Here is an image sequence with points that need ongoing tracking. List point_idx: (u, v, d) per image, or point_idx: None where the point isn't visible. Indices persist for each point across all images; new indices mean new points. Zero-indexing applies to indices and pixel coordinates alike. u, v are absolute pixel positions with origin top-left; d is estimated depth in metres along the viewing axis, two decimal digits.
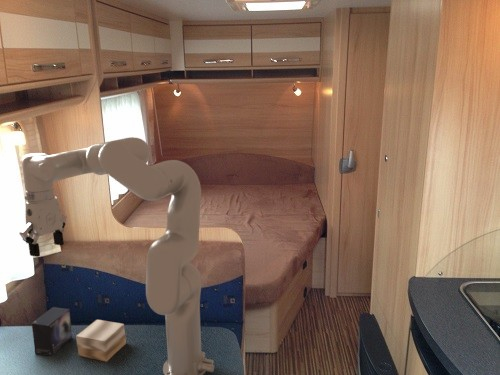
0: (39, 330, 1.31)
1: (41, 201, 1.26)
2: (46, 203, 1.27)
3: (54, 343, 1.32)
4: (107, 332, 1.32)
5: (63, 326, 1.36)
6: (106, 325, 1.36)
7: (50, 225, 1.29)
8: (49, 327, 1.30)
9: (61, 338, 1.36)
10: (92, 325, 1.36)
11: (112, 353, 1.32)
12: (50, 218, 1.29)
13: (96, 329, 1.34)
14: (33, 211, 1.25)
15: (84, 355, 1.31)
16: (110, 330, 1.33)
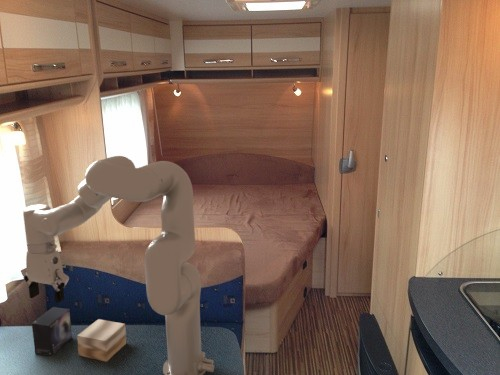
0: (39, 330, 1.31)
1: None
2: None
3: (54, 343, 1.32)
4: (108, 331, 1.32)
5: (63, 326, 1.36)
6: (107, 324, 1.37)
7: None
8: (49, 327, 1.30)
9: (61, 338, 1.36)
10: (93, 325, 1.36)
11: (112, 353, 1.31)
12: None
13: (97, 329, 1.34)
14: (58, 257, 1.31)
15: (84, 355, 1.31)
16: (111, 330, 1.33)
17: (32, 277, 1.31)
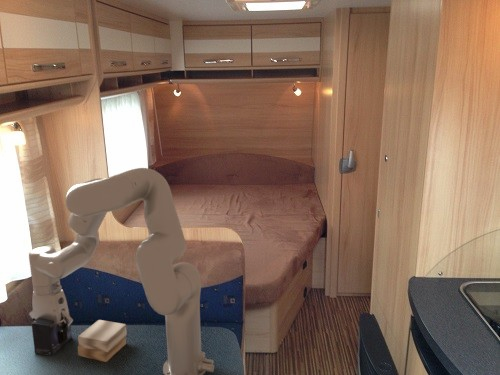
0: (38, 330, 1.31)
1: None
2: None
3: (54, 343, 1.32)
4: (109, 332, 1.32)
5: None
6: (108, 325, 1.36)
7: None
8: (48, 326, 1.30)
9: None
10: (94, 325, 1.36)
11: (112, 354, 1.31)
12: None
13: (98, 329, 1.34)
14: (64, 297, 1.34)
15: (84, 355, 1.31)
16: (112, 331, 1.33)
17: (38, 317, 1.34)
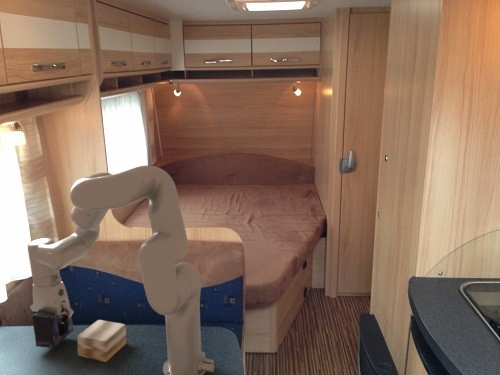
0: (39, 322, 1.30)
1: None
2: None
3: (55, 335, 1.32)
4: (108, 332, 1.32)
5: None
6: (107, 325, 1.36)
7: None
8: (49, 318, 1.29)
9: None
10: (93, 325, 1.36)
11: (111, 354, 1.31)
12: None
13: (98, 329, 1.34)
14: (64, 289, 1.33)
15: (84, 355, 1.31)
16: (111, 331, 1.33)
17: None
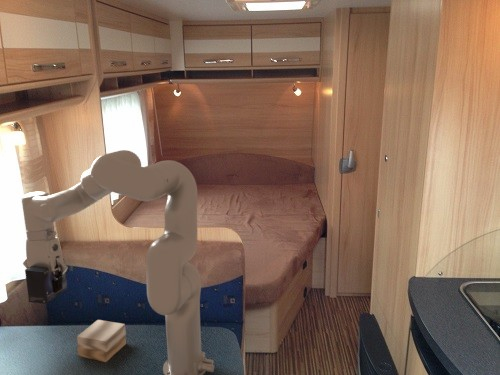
0: (32, 277, 1.27)
1: None
2: None
3: (48, 291, 1.29)
4: (108, 332, 1.32)
5: None
6: (107, 325, 1.36)
7: None
8: (42, 273, 1.26)
9: None
10: (93, 325, 1.36)
11: (111, 354, 1.31)
12: None
13: (97, 329, 1.34)
14: (58, 244, 1.30)
15: (84, 355, 1.31)
16: (111, 331, 1.33)
17: (32, 265, 1.30)
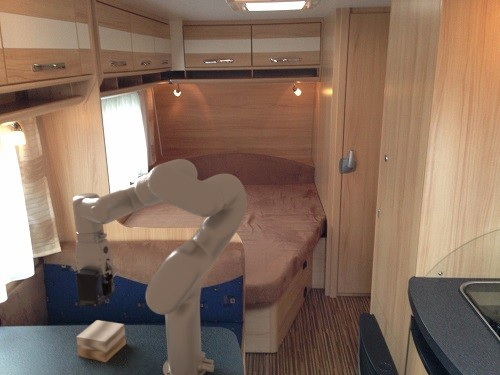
0: (83, 280, 1.25)
1: None
2: None
3: (99, 294, 1.26)
4: (107, 332, 1.32)
5: None
6: (106, 325, 1.36)
7: None
8: (94, 276, 1.24)
9: None
10: (92, 326, 1.36)
11: (111, 354, 1.31)
12: None
13: (97, 330, 1.34)
14: (108, 247, 1.28)
15: (83, 356, 1.31)
16: (110, 331, 1.33)
17: (82, 268, 1.28)
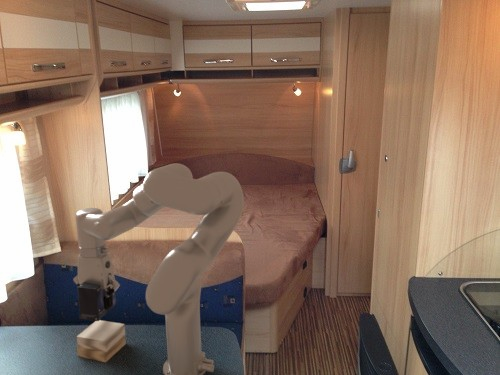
0: (85, 294, 1.26)
1: None
2: None
3: (100, 308, 1.27)
4: (108, 332, 1.32)
5: (108, 291, 1.31)
6: (106, 325, 1.36)
7: None
8: (96, 290, 1.25)
9: None
10: (92, 325, 1.36)
11: (111, 354, 1.31)
12: None
13: (97, 329, 1.34)
14: (110, 261, 1.29)
15: (83, 356, 1.31)
16: (111, 331, 1.33)
17: None
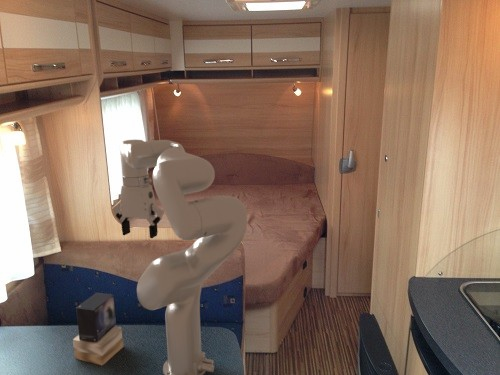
0: (83, 315, 1.26)
1: None
2: None
3: (99, 329, 1.27)
4: (104, 335, 1.30)
5: (107, 311, 1.31)
6: None
7: None
8: (94, 311, 1.25)
9: (105, 324, 1.30)
10: None
11: (108, 357, 1.30)
12: None
13: None
14: (152, 192, 1.32)
15: (80, 358, 1.30)
16: (107, 334, 1.31)
17: (126, 213, 1.32)
